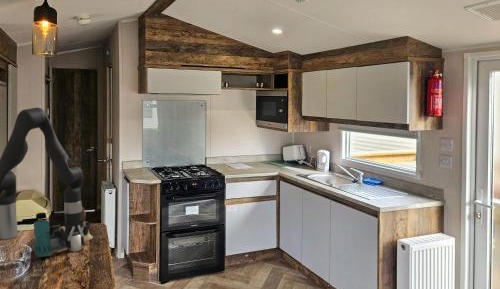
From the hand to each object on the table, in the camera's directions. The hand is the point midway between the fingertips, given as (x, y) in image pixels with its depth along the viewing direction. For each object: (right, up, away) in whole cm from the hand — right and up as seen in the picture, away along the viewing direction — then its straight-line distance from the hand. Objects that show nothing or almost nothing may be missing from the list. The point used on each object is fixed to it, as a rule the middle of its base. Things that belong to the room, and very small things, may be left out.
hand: (75, 246), depth 199 cm
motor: (-10, -1, +2) cm, 10 cm away
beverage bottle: (-10, -3, -10) cm, 14 cm away
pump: (0, -1, 0) cm, 2 cm away
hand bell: (-2, 0, +15) cm, 15 cm away
